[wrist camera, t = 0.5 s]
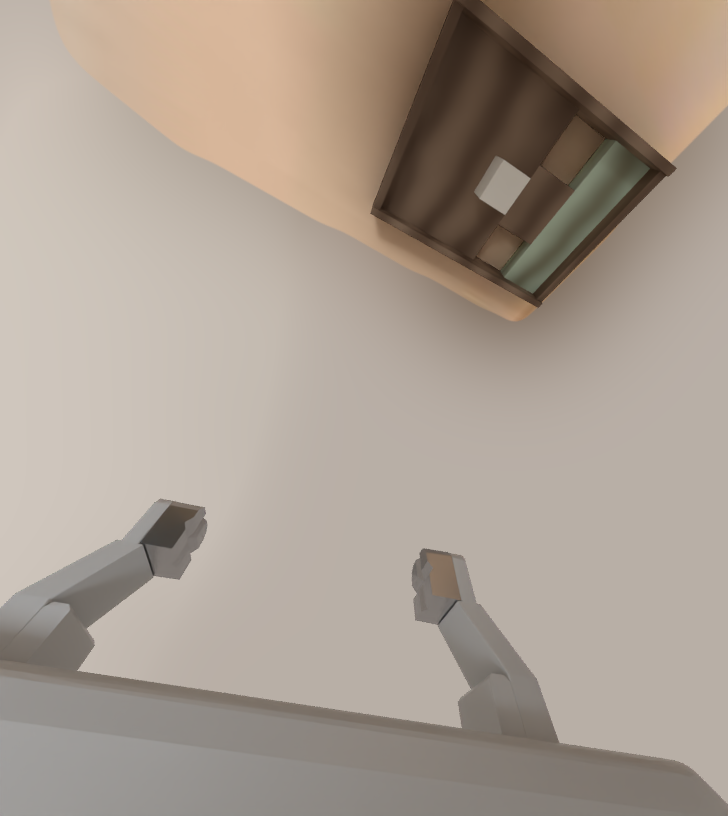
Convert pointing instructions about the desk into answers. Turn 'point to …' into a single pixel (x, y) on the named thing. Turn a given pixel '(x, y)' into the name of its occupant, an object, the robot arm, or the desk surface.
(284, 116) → the desk surface
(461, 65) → the dark brown rimmed tray
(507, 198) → the block
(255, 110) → the desk surface
